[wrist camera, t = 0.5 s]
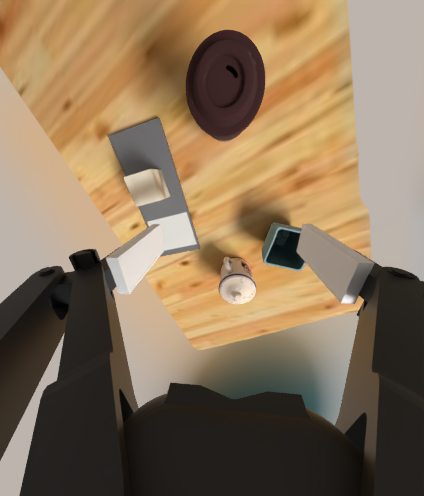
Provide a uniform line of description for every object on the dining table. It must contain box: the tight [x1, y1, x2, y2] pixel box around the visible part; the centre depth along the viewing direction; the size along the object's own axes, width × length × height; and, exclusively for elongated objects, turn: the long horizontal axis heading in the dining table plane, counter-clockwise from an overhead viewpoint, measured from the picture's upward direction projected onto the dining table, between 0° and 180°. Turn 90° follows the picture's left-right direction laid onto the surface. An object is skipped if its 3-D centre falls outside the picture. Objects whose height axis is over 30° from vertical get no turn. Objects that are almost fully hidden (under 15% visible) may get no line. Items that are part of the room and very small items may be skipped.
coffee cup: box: [186, 30, 265, 142], centre depth 25 cm, size 10×10×15 cm
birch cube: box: [123, 169, 171, 207], centre depth 35 cm, size 6×6×6 cm
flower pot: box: [262, 222, 306, 271], centre depth 37 cm, size 9×9×9 cm
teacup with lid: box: [219, 257, 256, 304], centre depth 41 cm, size 12×9×12 cm
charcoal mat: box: [108, 118, 200, 256], centre depth 39 cm, size 30×12×1 cm, turn 14°
